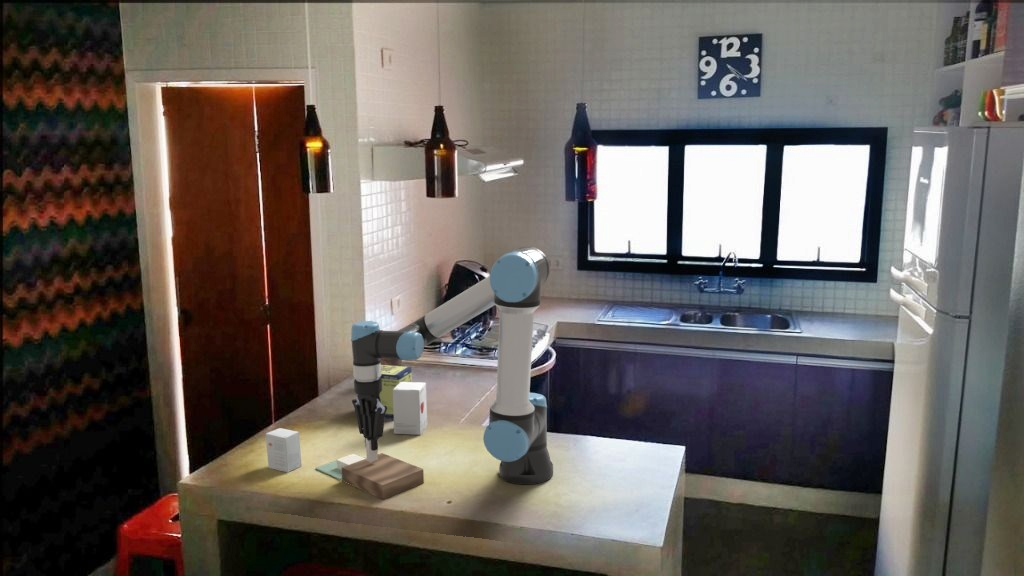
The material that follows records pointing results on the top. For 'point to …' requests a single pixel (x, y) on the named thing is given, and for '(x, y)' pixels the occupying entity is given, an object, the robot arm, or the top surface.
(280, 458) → the small box
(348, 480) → the plate
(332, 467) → the mat
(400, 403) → the supplement box
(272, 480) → the top surface
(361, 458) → the tile
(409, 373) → the protein box
